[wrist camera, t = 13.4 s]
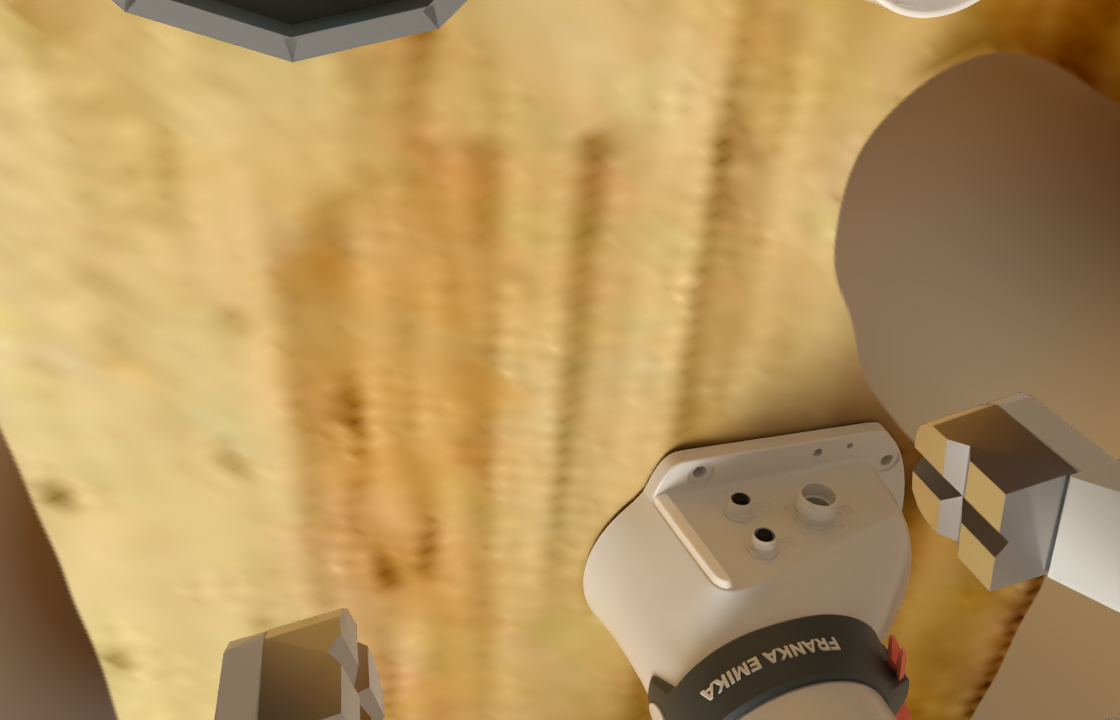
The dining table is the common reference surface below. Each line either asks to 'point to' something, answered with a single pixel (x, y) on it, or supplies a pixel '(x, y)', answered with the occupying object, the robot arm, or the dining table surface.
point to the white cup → (923, 7)
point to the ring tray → (298, 22)
